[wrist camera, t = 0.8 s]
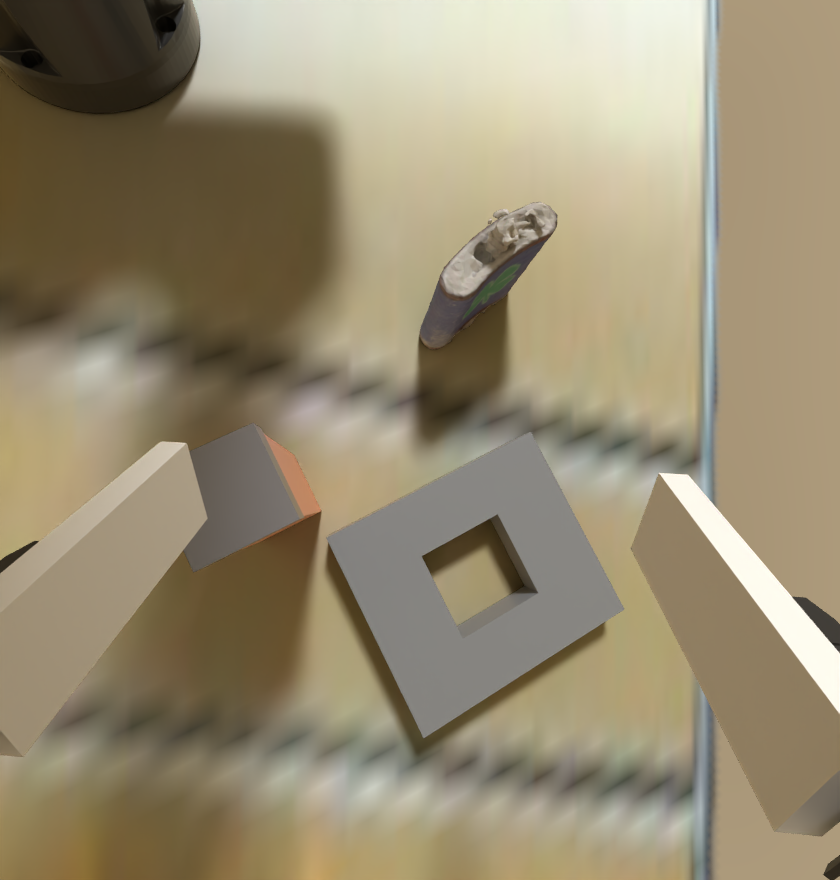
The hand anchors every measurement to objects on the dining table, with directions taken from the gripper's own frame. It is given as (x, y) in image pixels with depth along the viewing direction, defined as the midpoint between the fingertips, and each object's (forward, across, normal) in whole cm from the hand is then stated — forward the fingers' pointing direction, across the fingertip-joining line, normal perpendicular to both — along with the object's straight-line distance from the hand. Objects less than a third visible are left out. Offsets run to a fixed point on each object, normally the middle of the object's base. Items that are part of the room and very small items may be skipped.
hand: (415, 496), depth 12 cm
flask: (+25, +2, 0) cm, 25 cm away
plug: (+14, -10, -11) cm, 21 cm away
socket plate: (+13, +4, -16) cm, 21 cm away
